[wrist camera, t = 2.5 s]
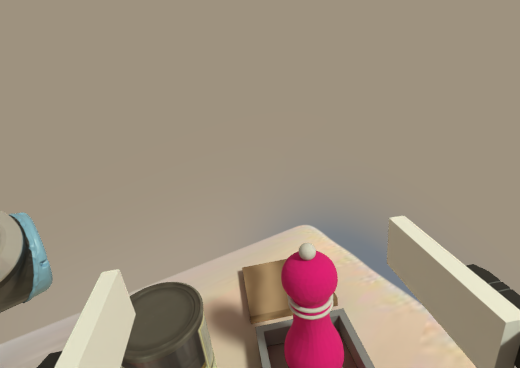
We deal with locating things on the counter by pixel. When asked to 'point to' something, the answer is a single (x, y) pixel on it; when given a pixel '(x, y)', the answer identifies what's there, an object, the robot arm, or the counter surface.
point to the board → (267, 292)
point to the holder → (341, 322)
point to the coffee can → (168, 329)
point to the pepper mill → (311, 310)
